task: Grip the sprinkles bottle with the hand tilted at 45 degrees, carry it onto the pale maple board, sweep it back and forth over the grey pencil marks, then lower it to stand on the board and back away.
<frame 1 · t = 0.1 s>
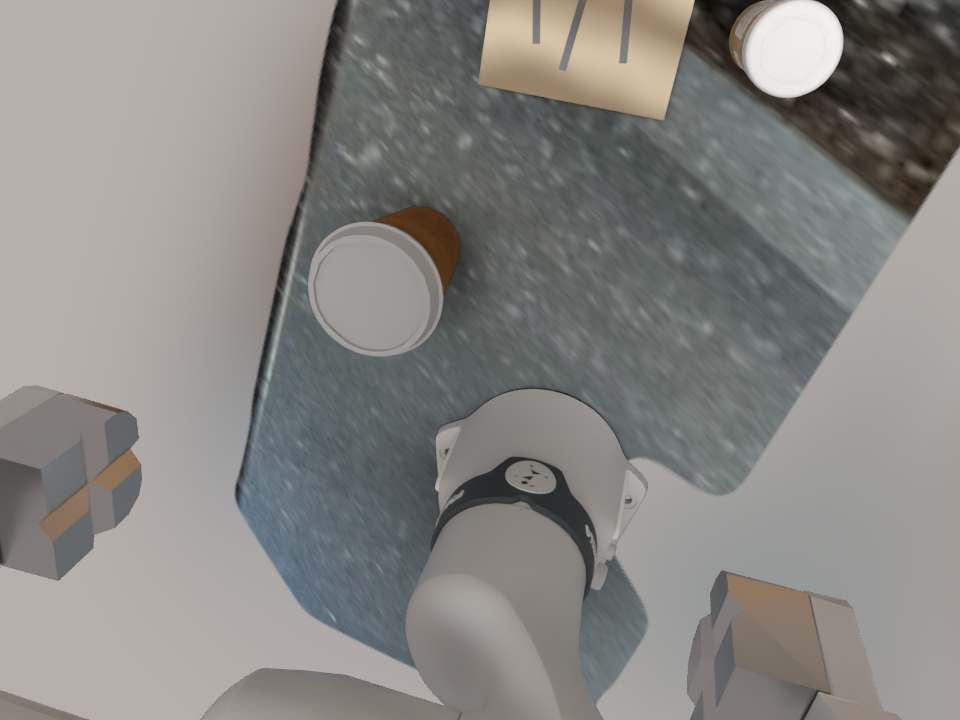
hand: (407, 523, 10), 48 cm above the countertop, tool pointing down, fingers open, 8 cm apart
maple board: (590, 6, 50), on the countertop
sprinkles bottle: (765, 36, 49), on the countertop
disposable coffee cup: (422, 244, 60), on the countertop
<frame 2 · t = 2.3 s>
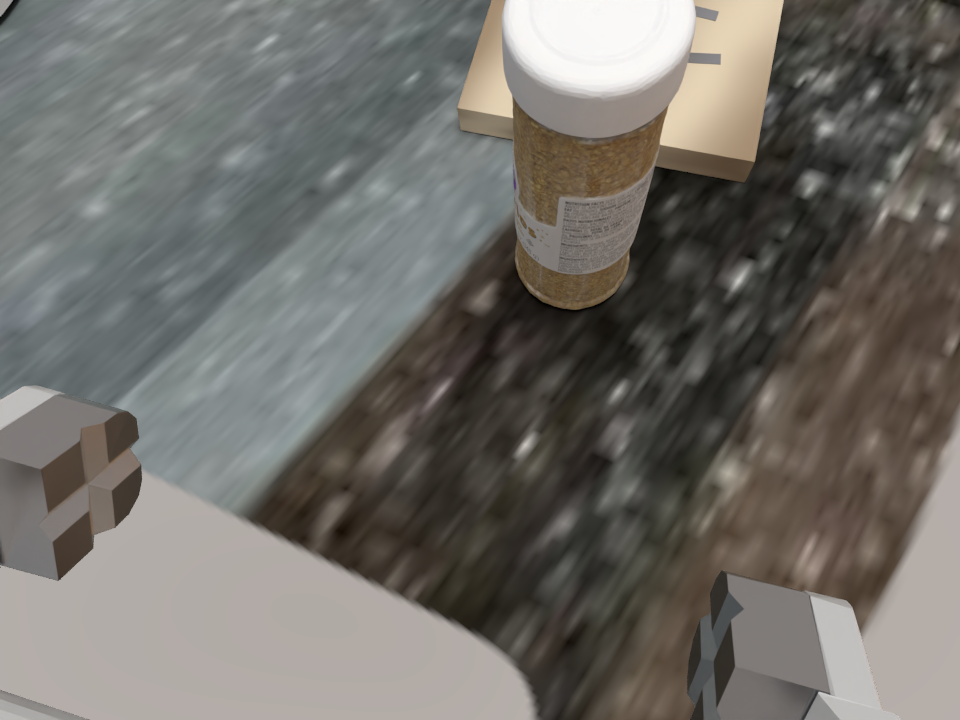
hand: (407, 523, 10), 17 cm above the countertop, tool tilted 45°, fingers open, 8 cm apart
maple board: (629, 31, 33), on the countertop
sprinkles bottle: (571, 263, 30), on the countertop
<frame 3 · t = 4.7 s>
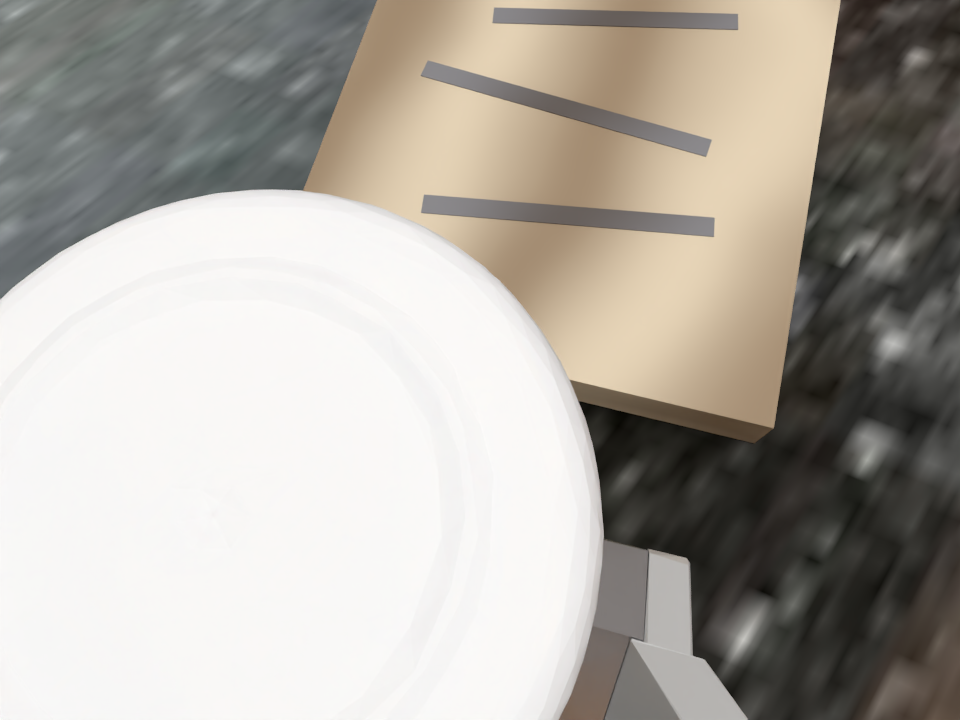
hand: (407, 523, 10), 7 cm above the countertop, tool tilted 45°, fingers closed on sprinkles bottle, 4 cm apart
maple board: (566, 159, 20), on the countertop
sprinkles bottle: (450, 589, 17), on the countertop, touching gripper
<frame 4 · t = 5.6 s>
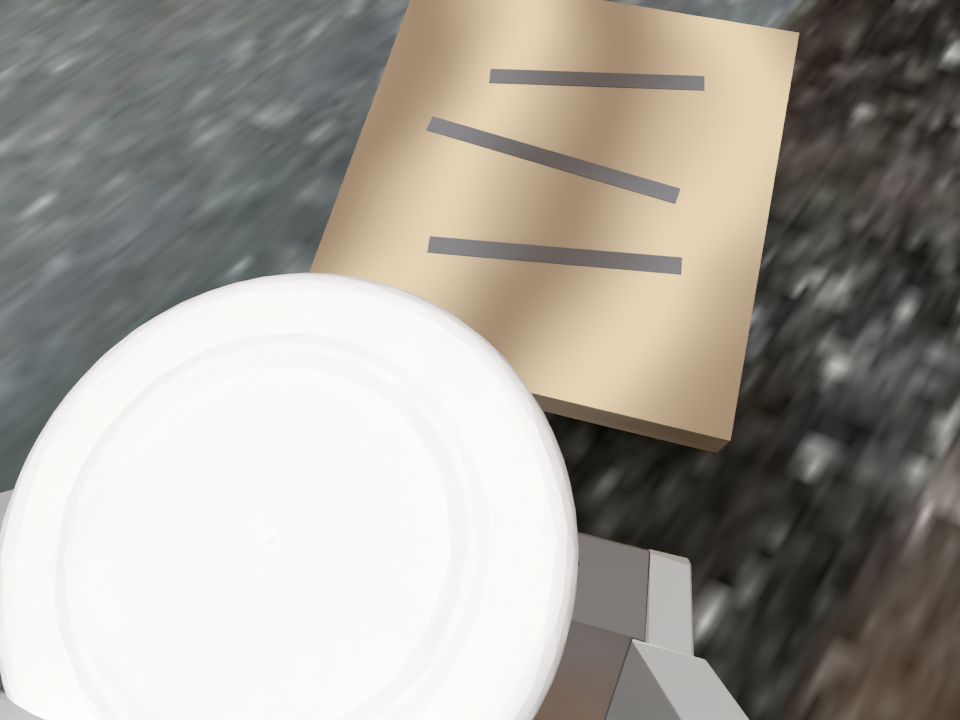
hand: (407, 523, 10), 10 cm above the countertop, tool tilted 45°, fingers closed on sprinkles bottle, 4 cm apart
maple board: (554, 202, 23), on the countertop
sprinkles bottle: (457, 589, 18), point 1 cm above the countertop, touching gripper
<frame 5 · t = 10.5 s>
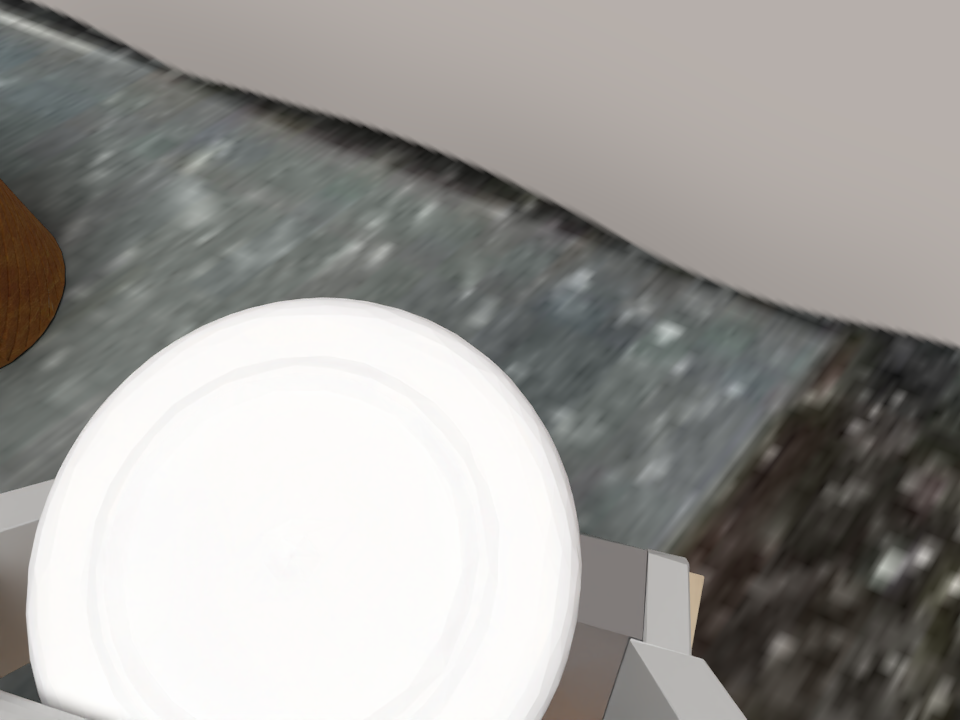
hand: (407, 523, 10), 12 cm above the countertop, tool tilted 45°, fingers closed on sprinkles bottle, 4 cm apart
sprinkles bottle: (456, 590, 19), point 3 cm above the countertop, touching gripper
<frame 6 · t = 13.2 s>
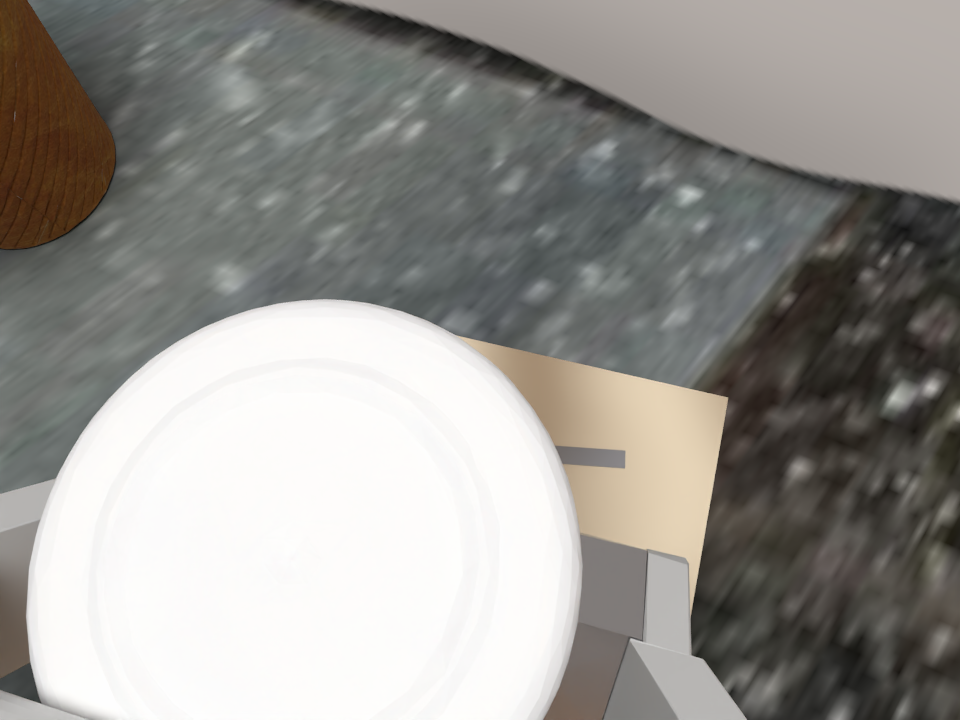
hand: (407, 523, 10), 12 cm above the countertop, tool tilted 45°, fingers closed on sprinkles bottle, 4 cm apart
maple board: (468, 574, 22), on the countertop
sprinkles bottle: (455, 590, 19), point 3 cm above the countertop, touching gripper
disposable coffee cup: (35, 174, 27), on the countertop
when the fingers open (9 cm above the countertop, at t = 15.2 s): sprinkles bottle stays where it is, resting on maple board.
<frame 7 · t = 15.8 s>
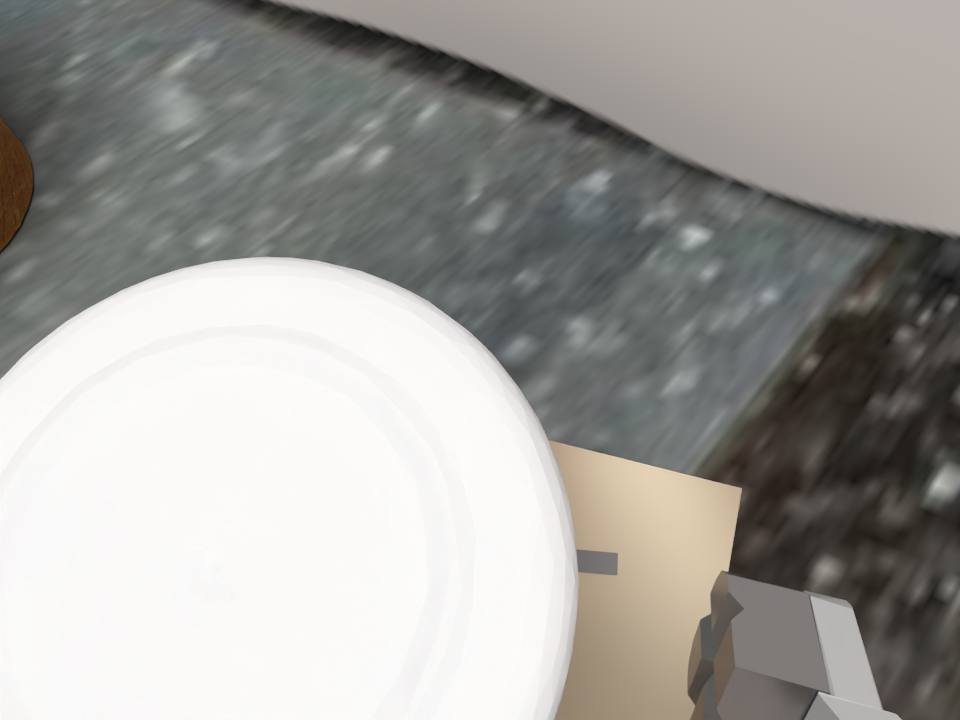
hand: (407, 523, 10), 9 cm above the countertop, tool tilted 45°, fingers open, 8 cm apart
maple board: (429, 697, 18), on the countertop
sprinkles bottle: (445, 602, 18), point 1 cm above the countertop, touching maple board
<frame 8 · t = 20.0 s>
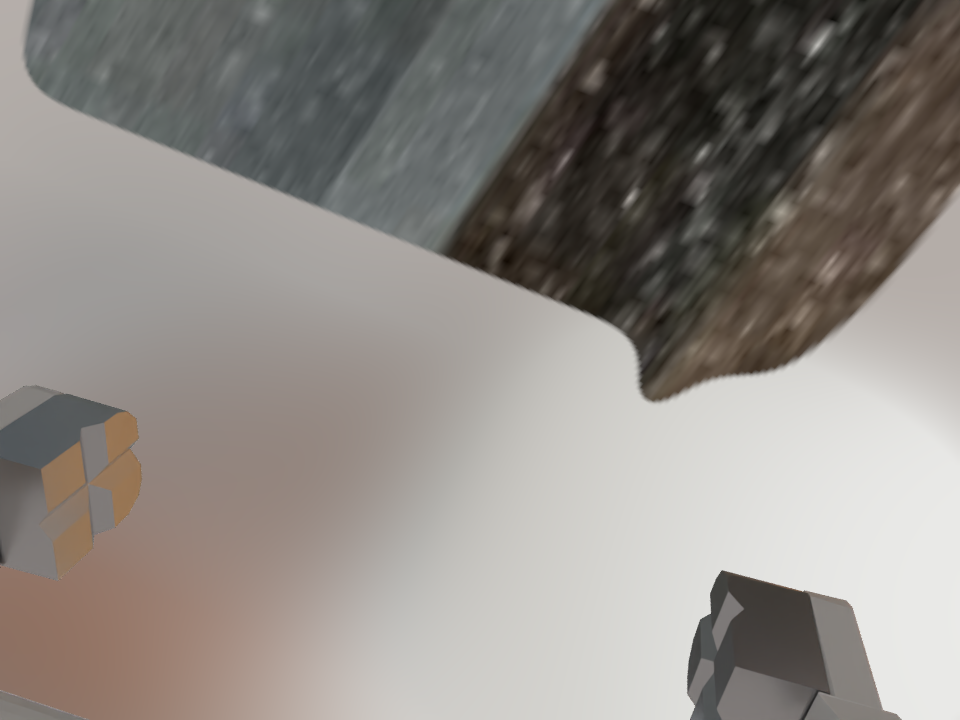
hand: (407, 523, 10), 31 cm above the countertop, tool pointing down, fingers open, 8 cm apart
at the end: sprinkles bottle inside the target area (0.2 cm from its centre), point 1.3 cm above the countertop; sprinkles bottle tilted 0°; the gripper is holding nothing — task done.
